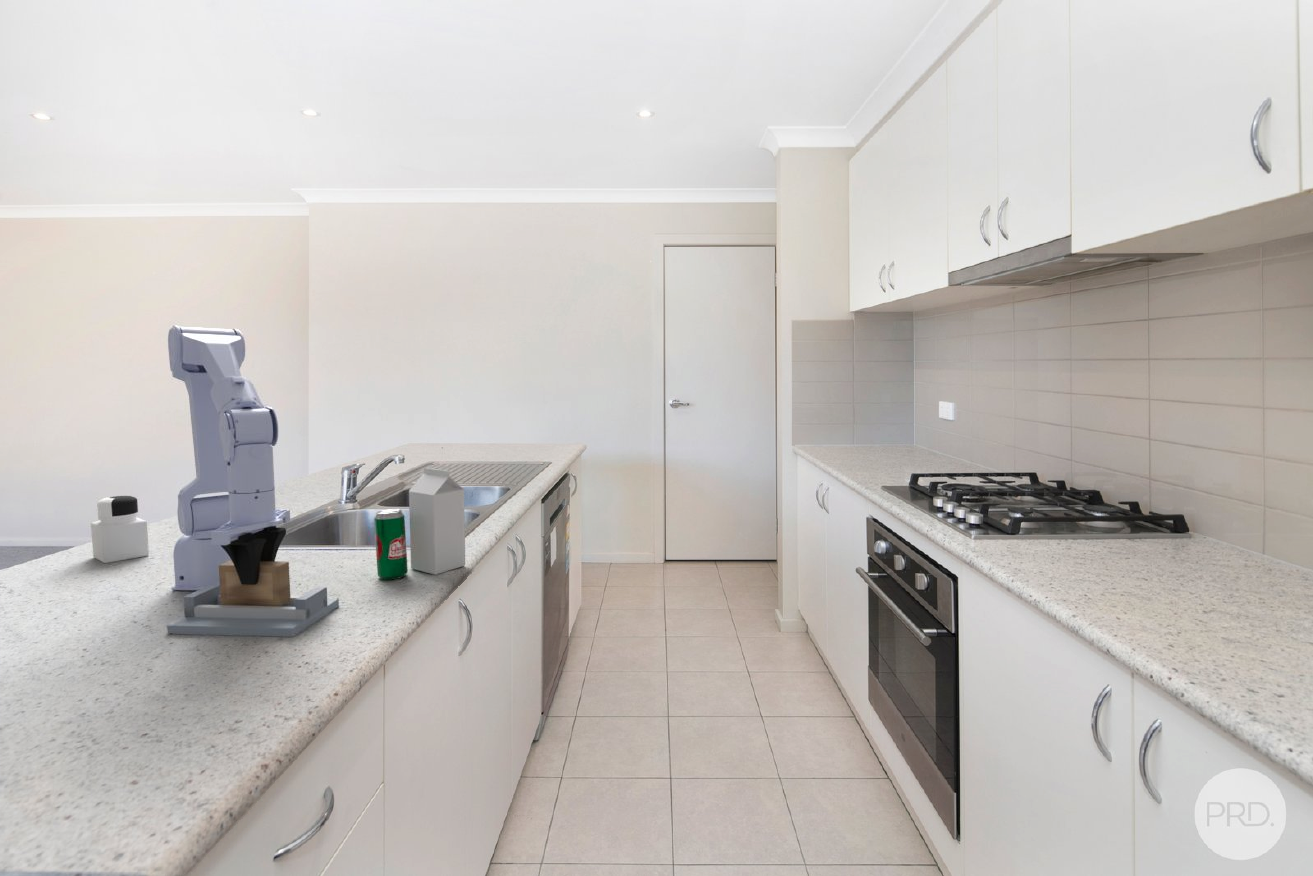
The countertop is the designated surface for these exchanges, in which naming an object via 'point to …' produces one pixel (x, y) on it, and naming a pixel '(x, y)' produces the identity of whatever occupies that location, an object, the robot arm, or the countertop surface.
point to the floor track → (250, 615)
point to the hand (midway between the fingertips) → (256, 580)
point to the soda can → (390, 544)
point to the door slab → (256, 585)
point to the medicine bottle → (119, 530)
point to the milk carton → (436, 523)
